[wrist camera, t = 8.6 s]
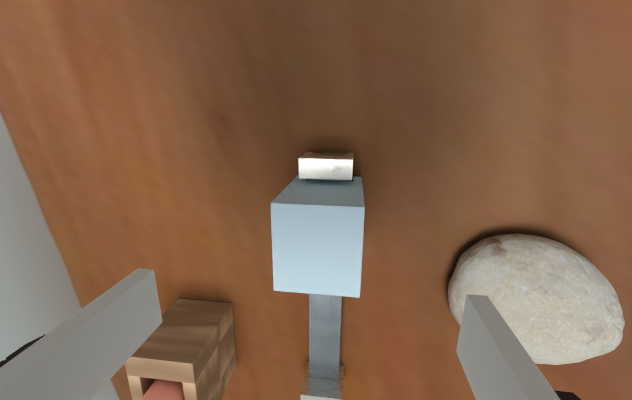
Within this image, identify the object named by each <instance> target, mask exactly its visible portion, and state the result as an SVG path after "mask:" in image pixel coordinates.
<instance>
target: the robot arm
mask: <svg viewBox="0 0 632 400" xmlns="http://www.w3.org/2000/svg"><path fill="white" fill-rule="evenodd" d="M161 323H162V316H161V310H160V304H159V298H158V292H157V287H156V281H155V275H154V270H151V269H136V270H135V271H134V272H132V273H131V274H129V275H128V276H127V277H125V278H124V279H122V280H121V281H120V282H118V283H117V284H116V285H114V286H113V287H111V288H110V289H109V290H107V291H106V292H104V293H103V294H102V295H100V296H99V297H98V298H96V299H95V300H93V301H92V302H91V303H89V304H88V305H86V306H85V307H84V308H82V309H81V310H80V311H78V312H77V313H76V314H74V315H73V316H71V317H70V318H68V319H67V320H66V321H64V322H63V323H62V324H60V325H59V326H58V327H56V328H55V329H53V330H52V331H51V332H49V333H48V334H46V335H43V336H41V337H39V338H37V339H35V340H33V341H31V342H29V343H27V344H25V345H24V346H22V347H21V348H19V349H18V350H17V351H15V352H14V353H12V354H11V355H9V356H8V357H7V358H6V360H5V361H1V362H0V400H91V399H92V398H93V397H94V396H95V395H96V394H97V393H98V392H99V391H100V390H101V389H102V387H103V386H104V385H105V384H106V383H107V382H108V381H109V380H110V379H111V378H112V377H113V375H114V374H115V373H116V372H117V371H118V370H119V369H120V368H121V367H122V366H123V365H124V363H125V362H126V361H127V360H128V359H129V358H130V357H131V356H132V355H133V354H134V353H135V351H136V350H137V349H138V348H139V347H140V346H141V345H142V344H143V343H144V342H145V341H146V339H147V338H148V337H149V336H150V335H151V334H152V333H153V332H154V331H155V330H156V329H157V327H158V326H159V325H160V324H161ZM456 353H457V355H458V357H459V360H460V362H461V365H462V367H463V369H464V372H465V374H466V377H467V379H468V382H469V384H470V386H471V389H472V391H473V394H474V396H475V399H476V400H581V399H580V398H578V397H577V396H576V395H575V394H574V393H571V392H562V391H554V390H553V388H552V387H551V386H550V384H549V383H548V381H547V380H546V379H545V377H544V376H543V374H542V373H541V371H540V370H539V369H538V367H537V366H536V364H535V363H534V361H533V360H532V359H531V357H530V356H529V354H528V353H527V352H526V350H525V349H524V347H523V346H522V344H521V343H520V342H519V340H518V339H517V337H516V336H515V334H514V333H513V332H512V330H511V329H510V327H509V326H508V325H507V323H506V322H505V320H504V319H503V317H502V316H501V315H500V313H499V312H498V310H497V309H496V308H495V306H494V305H493V303H492V302H491V300H490V299H489V298H488V296H482V295H470V294H466V299H465V305H464V310H463V316H462V322H461V327H460V333H459V339H458V344H457V350H456Z"/></svg>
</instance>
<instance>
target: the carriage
mask: <svg viewBox="0 0 632 400" xmlns="http://www.w3.org/2000/svg"><path fill="white" fill-rule="evenodd" d="M364 212H365V205H364V195H363V186H362V177H353V181H330V180H306V179H305V178H299V175H297V176H296V177H295V178H294V179H293V180H292V181H291V183H290V184H289V185H288V186H287V187H286V188H285V189H284V190H283V191H282V192H281V193H280V194H279V195H278V196H277V197H276V198H275V199H274V200H273V201H272V202H271V226H272V255H273V283H274V291H285V292H298V293H310V294H322V295H335V296H347V297H360V283H361V266H362V248H363V230H364Z"/></svg>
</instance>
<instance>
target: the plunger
mask: <svg viewBox="0 0 632 400" xmlns="http://www.w3.org/2000/svg"><path fill="white" fill-rule="evenodd" d="M141 400H184V391H183V384H182V382H177V381H169V380H161V379H156V380H155V381H154V383H153V384H152V385H151V386H150V388H149V389H148V390H147V392H146V393H145V394H144V396H143V397H142V398H141Z"/></svg>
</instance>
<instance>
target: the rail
mask: <svg viewBox="0 0 632 400" xmlns="http://www.w3.org/2000/svg"><path fill="white" fill-rule="evenodd" d="M352 172H353V153H322V152H307V153H305V154H304V155H303V156H301V157H300V158H299V178H305V179H309V180H330V181H346V180H352ZM341 313H342V296H335V295H322V294H310V293H309V362H308V361H307V365H306V370H305V375H304V380H303V385H302V390H301V400H343V383H344V365H340V339H341Z"/></svg>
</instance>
